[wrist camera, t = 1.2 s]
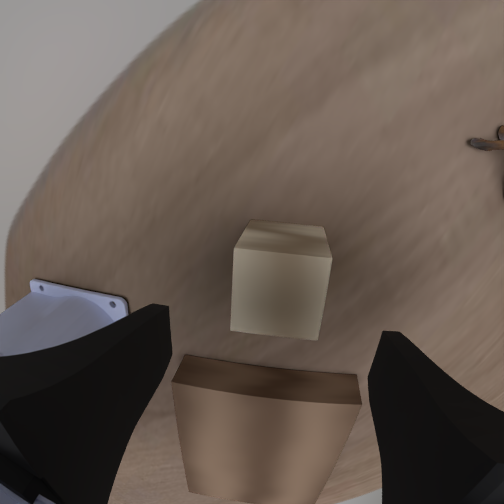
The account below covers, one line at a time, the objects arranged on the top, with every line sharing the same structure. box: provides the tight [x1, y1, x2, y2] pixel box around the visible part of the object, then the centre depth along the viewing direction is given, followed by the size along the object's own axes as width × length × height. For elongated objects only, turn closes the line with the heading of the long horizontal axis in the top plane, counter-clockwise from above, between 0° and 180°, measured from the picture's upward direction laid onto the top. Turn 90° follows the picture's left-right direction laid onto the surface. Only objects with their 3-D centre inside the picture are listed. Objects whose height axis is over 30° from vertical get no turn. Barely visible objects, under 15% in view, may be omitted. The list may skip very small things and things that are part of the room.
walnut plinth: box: [172, 355, 362, 504], centre depth 22 cm, size 12×16×3 cm
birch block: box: [230, 219, 332, 341], centre depth 16 cm, size 4×4×5 cm
